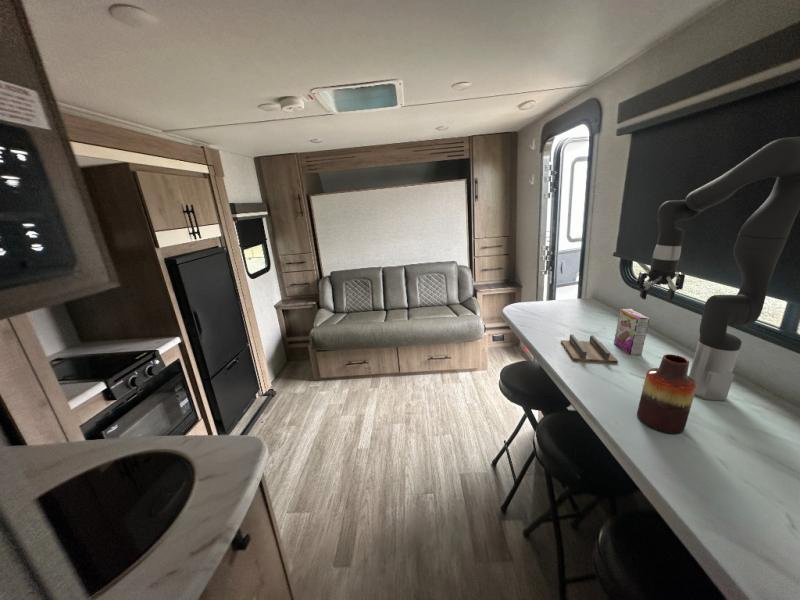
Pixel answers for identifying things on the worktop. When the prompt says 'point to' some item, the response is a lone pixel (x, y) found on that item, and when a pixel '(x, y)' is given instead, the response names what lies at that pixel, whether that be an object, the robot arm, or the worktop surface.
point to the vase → (667, 396)
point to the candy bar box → (631, 331)
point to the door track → (588, 350)
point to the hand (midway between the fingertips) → (655, 299)
